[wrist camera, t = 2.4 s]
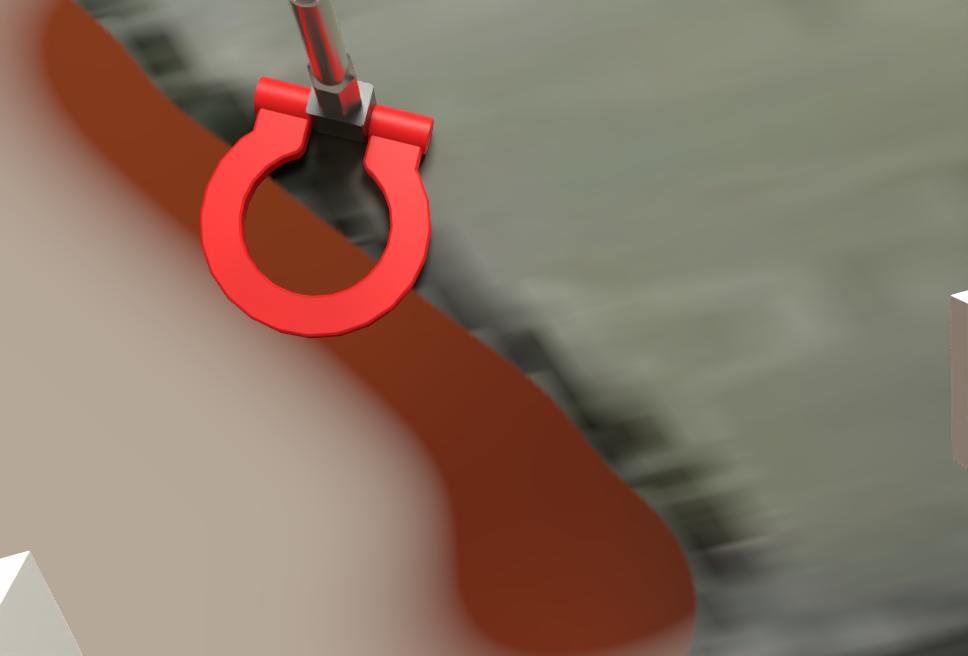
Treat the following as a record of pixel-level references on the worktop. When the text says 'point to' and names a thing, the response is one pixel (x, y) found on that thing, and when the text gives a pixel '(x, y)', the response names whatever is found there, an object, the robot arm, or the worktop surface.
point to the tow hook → (284, 138)
